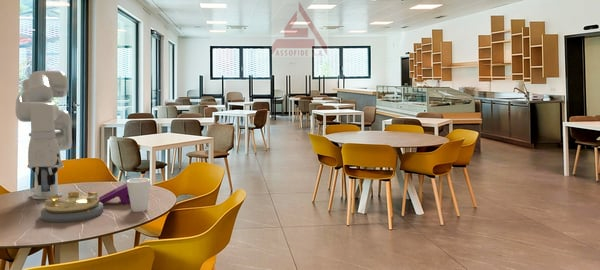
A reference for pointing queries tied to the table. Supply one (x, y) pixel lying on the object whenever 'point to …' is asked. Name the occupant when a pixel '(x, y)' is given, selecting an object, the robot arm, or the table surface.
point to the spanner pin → (45, 180)
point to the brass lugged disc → (71, 202)
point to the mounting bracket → (117, 195)
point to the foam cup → (138, 193)
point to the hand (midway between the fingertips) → (46, 184)
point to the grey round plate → (71, 215)
